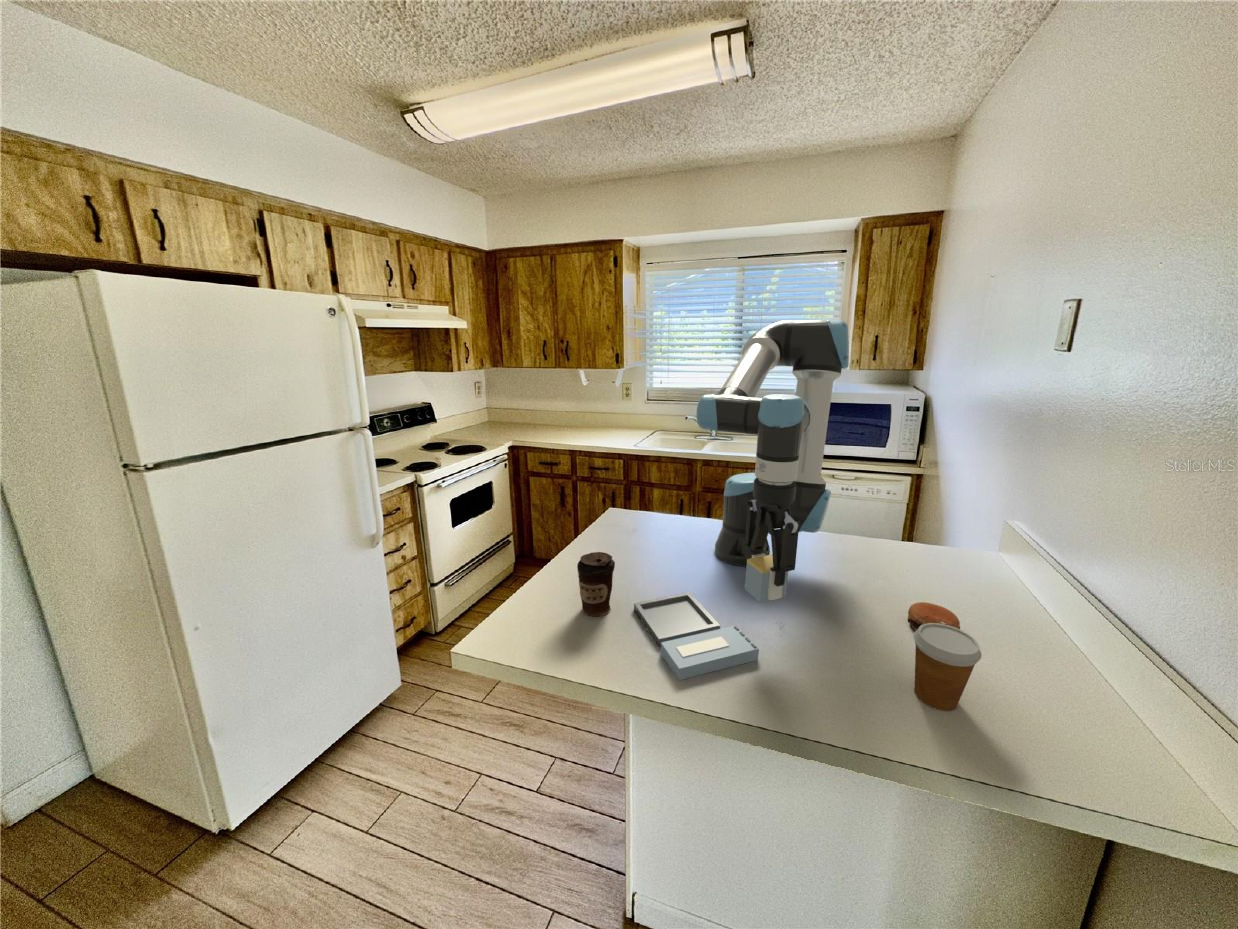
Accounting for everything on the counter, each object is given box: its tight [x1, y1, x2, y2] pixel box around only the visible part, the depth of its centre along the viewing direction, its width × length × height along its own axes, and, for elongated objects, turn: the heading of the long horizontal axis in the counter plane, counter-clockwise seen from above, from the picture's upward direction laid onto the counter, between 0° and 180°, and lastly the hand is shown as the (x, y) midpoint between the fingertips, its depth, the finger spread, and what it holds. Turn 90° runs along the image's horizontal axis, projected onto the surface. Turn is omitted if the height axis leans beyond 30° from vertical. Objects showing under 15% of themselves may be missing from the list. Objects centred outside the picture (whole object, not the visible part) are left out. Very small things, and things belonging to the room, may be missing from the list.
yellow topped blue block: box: [744, 553, 789, 602], centre depth 95 cm, size 6×5×7 cm
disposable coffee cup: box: [913, 623, 983, 712], centre depth 82 cm, size 10×10×12 cm
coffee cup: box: [576, 551, 616, 617], centre depth 108 cm, size 9×8×13 cm
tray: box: [633, 591, 721, 648], centre depth 105 cm, size 14×14×2 cm
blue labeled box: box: [660, 625, 760, 681], centre depth 94 cm, size 17×8×3 cm, turn 109°
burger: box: [907, 601, 961, 631], centre depth 102 cm, size 10×9×5 cm
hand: (765, 590), depth 96 cm, fingers closed on yellow topped blue block, 5 cm apart
